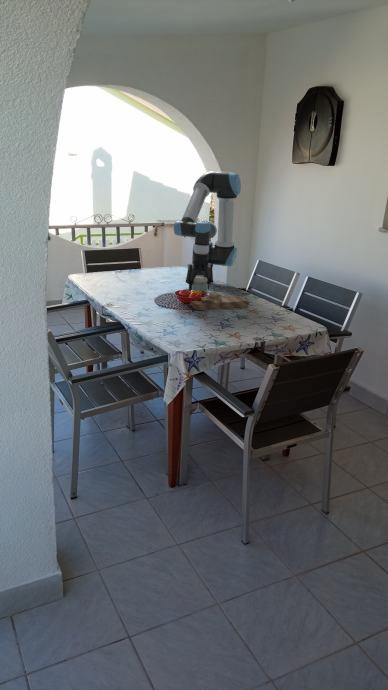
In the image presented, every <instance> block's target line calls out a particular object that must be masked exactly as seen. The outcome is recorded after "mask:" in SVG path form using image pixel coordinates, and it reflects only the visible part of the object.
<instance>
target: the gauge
mask: <svg viewBox="0 0 388 690" xmlns="http://www.w3.org/2000/svg"><path fill="white" fill-rule="evenodd" d="M222 297H223V294H222V293H219V292H216V291H211V292H208V296H204V297H201V300H202V302H203V301H205V300H209V301H212V302H214V303H219V302H222Z"/></svg>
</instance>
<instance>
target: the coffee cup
mask: <svg viewBox="0 0 388 690" xmlns="http://www.w3.org/2000/svg"><path fill="white" fill-rule="evenodd" d="M207 280H208V279H207V277H205V276H202V275H196V277H195V278H194V282H193V285H194V290H199V291H204V292H205V290H206V285H207Z"/></svg>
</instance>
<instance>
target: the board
mask: <svg viewBox="0 0 388 690" xmlns="http://www.w3.org/2000/svg"><path fill="white" fill-rule="evenodd" d="M189 305H190V306H192V307H193V308H194V310H195V309H196V310H195V311H203V310H205V311H206V310H219V309H232V308H243V307H249V300H248V299H246V298H244V297H242V296H240V295H235V296H234V295H232V296H222V302H219V303H214V302H212V301H209V300H205V301H203V302H202V301H191V303H190V304H189ZM189 305H188V306H189ZM190 306H189V307H190ZM192 307H191V308H192ZM193 308H192V309H193Z"/></svg>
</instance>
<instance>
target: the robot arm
mask: <svg viewBox="0 0 388 690" xmlns="http://www.w3.org/2000/svg"><path fill="white" fill-rule="evenodd" d="M241 184H242V182H241V177H240V175H239V174H238V173H237V172H236V173H235V172H231V171H217V170H216V171H215V170H211V171H208V172H206V173H203V174H202V175H200V177H198V179H197V180H196V181H195V182H194V185H193V187H192V191H193V192H192V194H191V196H190V198H189V199H190V200H189V202H188V203H187V206H186V208H185V211H184V212H183V215H182V217H181V220H176V221H175V222H174V224H173V233H174V235H176V236H179V237H189V238H194V243H193V244H192V245H193V246H192V255H191V256H192V258H191V259H192V260H191V263H188V264H187V273H186V277H185V283H186V284H188V291H189V292H190V291H191V290H194V285H193V282H194V278H195V277H196V275H202V276H205V277H207V279H208V280H207V285H206V290H205V292H207V293H209V291H208V290H210V285H211V283H213V282H214V275H213V274H214V273H213V272H214V271H213V267H214V265H215V266H223V267H232V266H233V265H234V264H235V261H236V259H237V254H238V248H237V246H235V242H233V230H234V229H233V227H234V226H233V225H234V211H235V210H234V208H235V207H234V206H235V200H236V199H237V198H238V196H239V195H240V194H241V188H242V186H241ZM211 193H213V194H216V198H217V199H218V219H217V220H218V223H217V227H216V225H215V224H213V223H210V222H209V221H197V220H198V217H199V214H200V213H201V210H202V208H203V206H204V205H203V204H204V203H205V200H206V198H207V197H209V195H210V194H211ZM216 235H217V240H216V241H215V242H214V243H213V242H212V241H210V239H212V238H215V237H216Z"/></svg>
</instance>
